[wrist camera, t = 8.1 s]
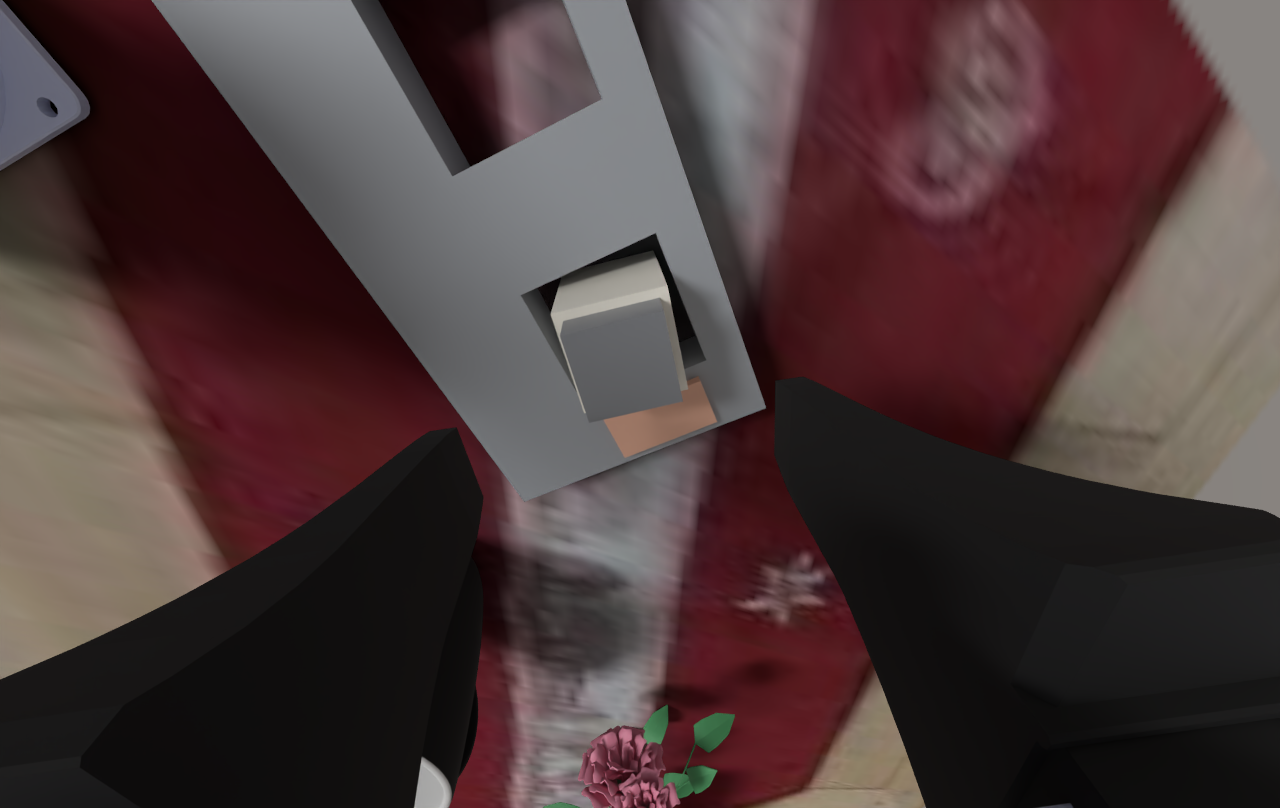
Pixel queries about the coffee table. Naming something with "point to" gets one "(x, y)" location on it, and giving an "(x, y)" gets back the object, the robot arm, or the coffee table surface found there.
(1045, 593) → the robot arm
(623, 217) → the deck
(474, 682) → the mug
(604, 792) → the flower vase
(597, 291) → the plug
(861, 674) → the coffee table surface
